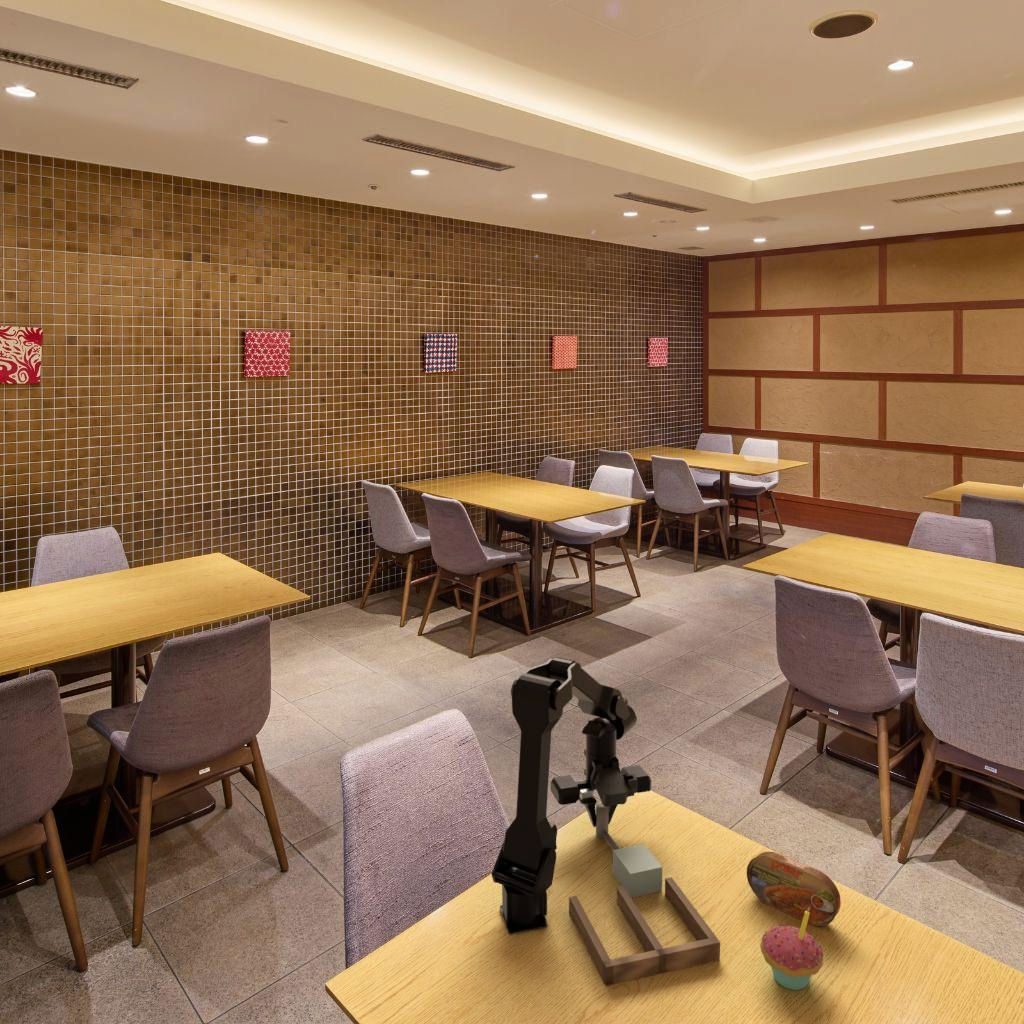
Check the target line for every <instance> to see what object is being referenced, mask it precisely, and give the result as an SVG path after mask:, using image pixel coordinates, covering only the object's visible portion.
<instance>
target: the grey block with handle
mask: <svg viewBox="0 0 1024 1024" xmlns="http://www.w3.org/2000/svg"><path fill="white" fill-rule="evenodd" d="M595 809H596V827H595V835H596V837H598V838H599V837H600V839H605V840H606V842H608V844H609V845H610V847H611V848H612V874H613V876H614V877H615V878H616V880H617V882H618V883H619V884H620V887H623V886H624V888H625V889H626V891H627V892H628V894H629V896H630V897H631V899H632V898H635V897H640V896H645V895H649V894H654V893H658V892H662V891H663V866H662V864H661V863H660V862H659V860H658V859H657V858H656V857H655V856H654V854H653V853H652V852H651V851H650V850H649V849H648V848H647V846H646V845H645V844H644V843H641V844H637V845H632V846H626V847H621V848H620V847H619V846H618V844H617V843H616V842H615V841H614V839H613V838H612V836H611V835H610V834H609V825H608V820H609V807H606V806H604V805H603V804H602V802H601V801H600V802H597V803H596V804H595Z"/></svg>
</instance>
